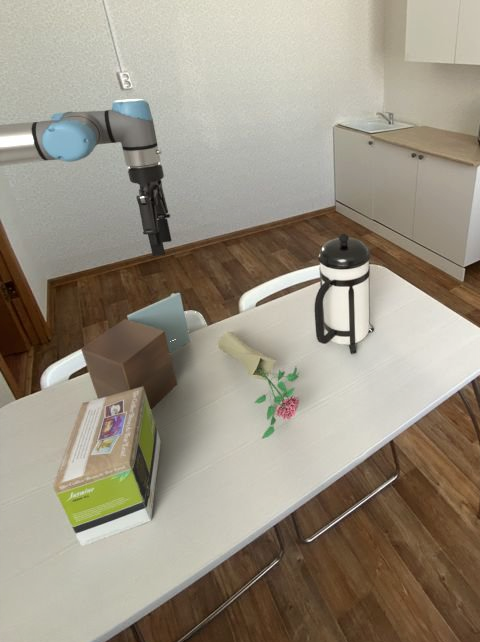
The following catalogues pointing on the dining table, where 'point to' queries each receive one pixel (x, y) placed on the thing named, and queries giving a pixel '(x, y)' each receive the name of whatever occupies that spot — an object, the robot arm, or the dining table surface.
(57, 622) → the dining table surface
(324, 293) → the coffee press
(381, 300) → the dining table surface
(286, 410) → the flower vase
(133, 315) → the door
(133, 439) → the tea box
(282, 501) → the dining table surface
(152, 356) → the cabinet
